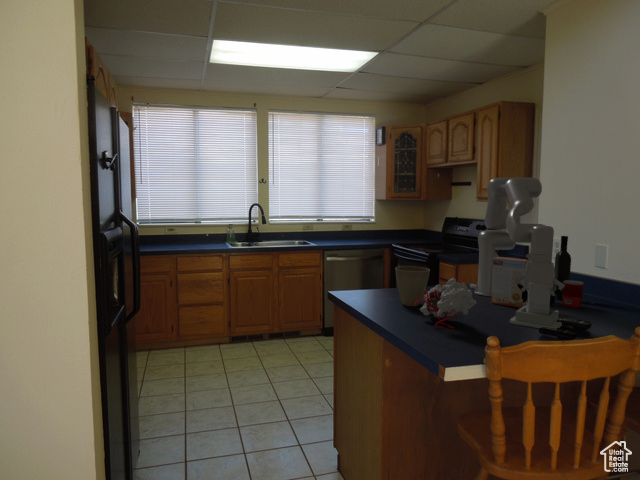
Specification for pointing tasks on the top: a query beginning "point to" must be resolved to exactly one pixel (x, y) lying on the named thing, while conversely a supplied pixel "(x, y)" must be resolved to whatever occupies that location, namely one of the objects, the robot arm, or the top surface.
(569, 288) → the canned food
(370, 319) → the top surface
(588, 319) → the top surface
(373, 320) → the top surface
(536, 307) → the supplement box
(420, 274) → the plant pot
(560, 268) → the wine bottle
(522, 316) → the tray
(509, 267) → the cracker box
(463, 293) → the molecular structure model
